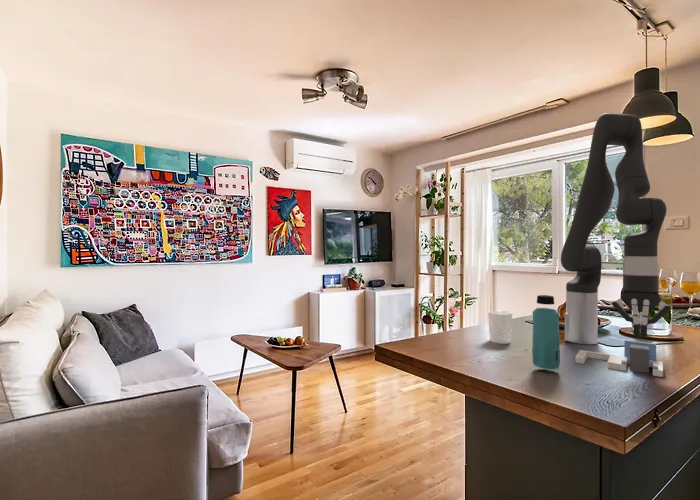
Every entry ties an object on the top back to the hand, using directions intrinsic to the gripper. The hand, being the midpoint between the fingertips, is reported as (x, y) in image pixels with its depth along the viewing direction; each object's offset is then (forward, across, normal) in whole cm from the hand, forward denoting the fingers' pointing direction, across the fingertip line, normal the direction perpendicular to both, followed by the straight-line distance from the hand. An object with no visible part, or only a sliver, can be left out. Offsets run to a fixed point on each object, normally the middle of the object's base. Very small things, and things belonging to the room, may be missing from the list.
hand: (640, 338), depth 99 cm
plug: (+8, 0, 0) cm, 8 cm away
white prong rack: (+8, -5, +1) cm, 10 cm away
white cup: (+8, -38, +7) cm, 40 cm away
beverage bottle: (+8, -20, -17) cm, 27 cm away
